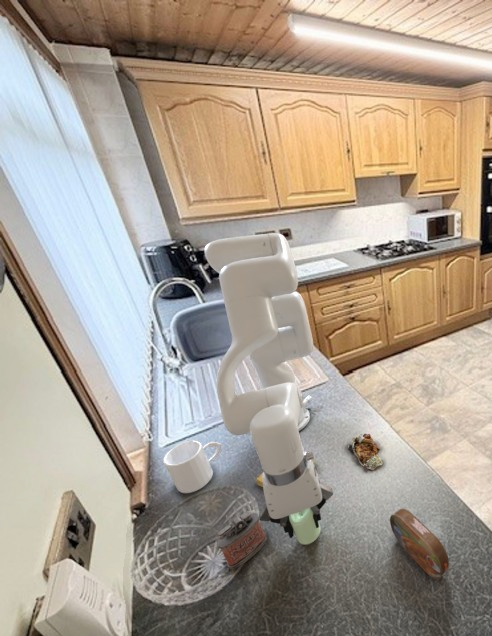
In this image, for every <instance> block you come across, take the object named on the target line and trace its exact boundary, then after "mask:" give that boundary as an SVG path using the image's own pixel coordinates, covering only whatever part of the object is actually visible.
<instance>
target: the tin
mask: <svg viewBox="0 0 492 636" xmlns="http://www.w3.org/2000/svg"><path fill="white" fill-rule="evenodd" d="M389 525H390V528H391V530H392V533H393V535H394V537H395V539H396V541H397V543H399V545H400V546H401V547H402V549H404V550H405V552H406V553H408V555H409V556H410V557H411V558H412V559H413V560H414V561H415V562H416V563H417V564H418V565H419V566H420V568H421V569H422V570H423V571H424V572H425V573H426V574H427V575H428V576H429V577H430V578H433V579H434V580H440V579H441V578H442V577H443V575H444V574H445V573H447V571H448V570H449V567H450V560H449V555H448V553H447V550H446V548H445V547H444V545H443V543H442V542H441V541H440V539H439V538H438V537H437V536H436V535H435V534H434V533H433V532H432V531H431V530H430V529H429V528H428V527H427V526H426V525H425V524H424V523H423V522H422V521H420V520H419V519H418V518H417V517H416V516H415V515H414V514H413V513H412V512H411V511H409V510H408V509H406V508H400V509H398V510H397V511H396V512H395V513H393V514H391V515H390V517H389Z"/></svg>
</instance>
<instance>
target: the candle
mask: <svg viewBox="0 0 492 636" xmlns="http://www.w3.org/2000/svg"><path fill="white" fill-rule="evenodd" d="M313 514H314V513H313V511H312V510H311V509H310V508H308V509H305V510H303V511H300V512H297V513H294V514H291V515H289V521H290V523H291V525H292V528H293V534H294V535H295V538H296V540H297V542H298V543H299V544H301V545H310V544H312V543H313V542H314V541H316V540H317V539H318V537H319V536H320V534H321V530H322V529H321V524H320V520H319V521H318V523H319V527H318V528H316V525H315V522H314V519H313Z"/></svg>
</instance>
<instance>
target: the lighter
mask: <svg viewBox="0 0 492 636" xmlns="http://www.w3.org/2000/svg"><path fill="white" fill-rule="evenodd" d="M259 516H260V515H259V514H258V513H257V512H252V513H251V512H250V511H249V510H246V511H244V513H242V514H241V515H237V516H235V517H234V518H233V519H232V521H231V522H230V523H229V524H228V525H226V526H225V527H223V528H222V529H221V530H219V532H218V533H217V536H218V539H217V541H216V545H217V547H218V549H220V550H221V553H222V555H223V556H224V557H223V558H224V559H225V560H226V565H227V567H228V568H229V570H235V569H237V568H239V567H240V566H241V565H243V564H244V563H246V562H248V560H250V559H251V558H253V557H254V556H255V554H257V553H258V552H259V551H260V550H261V549H262V548H263V547H264V546H265V545H266V544H267V542H268V537H267V535H266V533H265V532H264V530H263V526H262V524H261V522H260V520H259Z"/></svg>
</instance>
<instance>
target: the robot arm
mask: <svg viewBox="0 0 492 636" xmlns="http://www.w3.org/2000/svg"><path fill="white" fill-rule="evenodd" d="M203 250H204V251H203V253H204V256H205V259H206V261H207V263H208V265H209V266H210V267H211V268H212V269H213V270H214V271H215V272H216V273H218V274H219V275H218V280H219V285H220V290H221V294H222V299H223V304H224V306H225V312H226V316H227V321H228V326H229V330H230V334H231V344H230V346H229V348H228V349H227V351H226V353H225V354H224V356H223V357H222V359H221V362H220V363H219V367H218V369H217V374H216V378H215V379H216V381H215V388H216V396H217V399H218V404H219V405H218V406H219V410H220V414H221V418H222V421H223V425H224V428H225V429H226V430H227V432H228V433H229V434H231V435H234V436H244V435H247V434H250V437H251V440H252V442H253V445H254V449H255V451H256V453H257V456H258V460H259V462H260V466H261V469H262V471H263V472H262V473H263V475H262V481H263V487H262V489H263V495H264V500H265V501H264V502H265V504H264V505H263V507H262V508H261V511H260V512H259V515H258V516H259V522H260V521H261V522H270V523H273V524H277V525H279V527H281V528H283V531H284V533H285V534H288V536H289V539H292V538H293V537H294V535H295V533H294V530H293V528H292V525H291V523H290V521H289V515H291V514H294V513H297V512H300V511H303V510H305V509H308V508H310V509H311V510H312V511H313V513H314V514H313V519H314V522H315V525H316V528H318V527H319V524H320V521H321V520H322V515H321V509H322V507H323V506H325V504H326V502H327V501H328V500H329V499H330V498H332V497H333V496H334V491H333V488H332V487H330V486H328V485H326V484H323V483H322V482H321V479H320V478H319V474H318V471H317V469H316V465H315V463H314V464H313V462H312V461H313V459H314V458H315V457H314V452H313V451H310V452H308V451H305V448H304V446H303V442H302V439H301V435H300V431H301V430H303V429H304V428H305V427H306V426H307V425H308V423H309V422H310V420H311V414H310V411H309V410H308V408H307V407H308V404H310V403H311V402H312V401H313V400H314V398H313V396H312V395H310V394H309V395H307V396H306V397H305V398H304V397H303V392H302V390H301V388H300V387H299V386H298V384H297V380H296V375H295V372H294V370H293V368H292V367H291V366H290V365H289V364H288V363H287V362H289V361H293V360H294V361H295V360H298V359H301V358H304V357H308V356H310V355H311V354H312V353H313V351H314V340H313V335H312V329H311V325H310V320H309V315H308V311H307V307H306V303H305V300H304V299H303V297H302V295H301V293H300V292H298V286H299V278H298V272H297V267H296V264H295V260H294V257H293V254H292V253H293V252H292V250H291V247H290V244H289V242H288V240H287V238H286V236H285V235H283V234H281V233H277V232H270V233H268V232H267V233H261V234H260V233H259V234H253V235H241V236H233V237H225V238H220V239H216V240H213V241H210V242H209V243H207V244H206V245H205V247H204V249H203ZM247 357H248V360H249V361H250V363H251V366H252V368H253V370H254V371H255V374H256V377H257V379H258V382H259V385H260V388H259V389H256V390H252V391H247V392H245V393H241V394H236V390H235V376H236V372H237V370H238V369H239V367H240V365H241V363H243V361H244V360H245V359H246V358H247ZM311 460H312V461H311ZM314 465H315V466H314ZM318 521H319V523H318Z"/></svg>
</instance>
